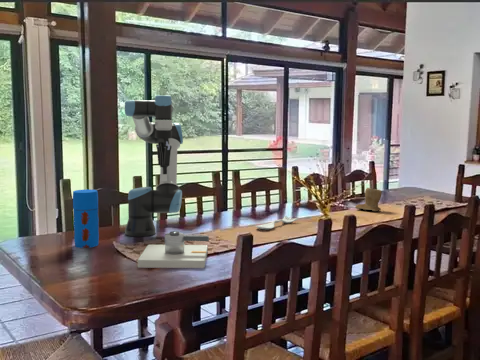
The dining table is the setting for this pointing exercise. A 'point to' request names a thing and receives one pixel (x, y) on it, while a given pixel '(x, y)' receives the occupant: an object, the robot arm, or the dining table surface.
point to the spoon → (271, 225)
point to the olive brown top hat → (371, 200)
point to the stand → (173, 257)
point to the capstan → (180, 241)
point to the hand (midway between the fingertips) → (163, 181)
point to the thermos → (86, 218)
